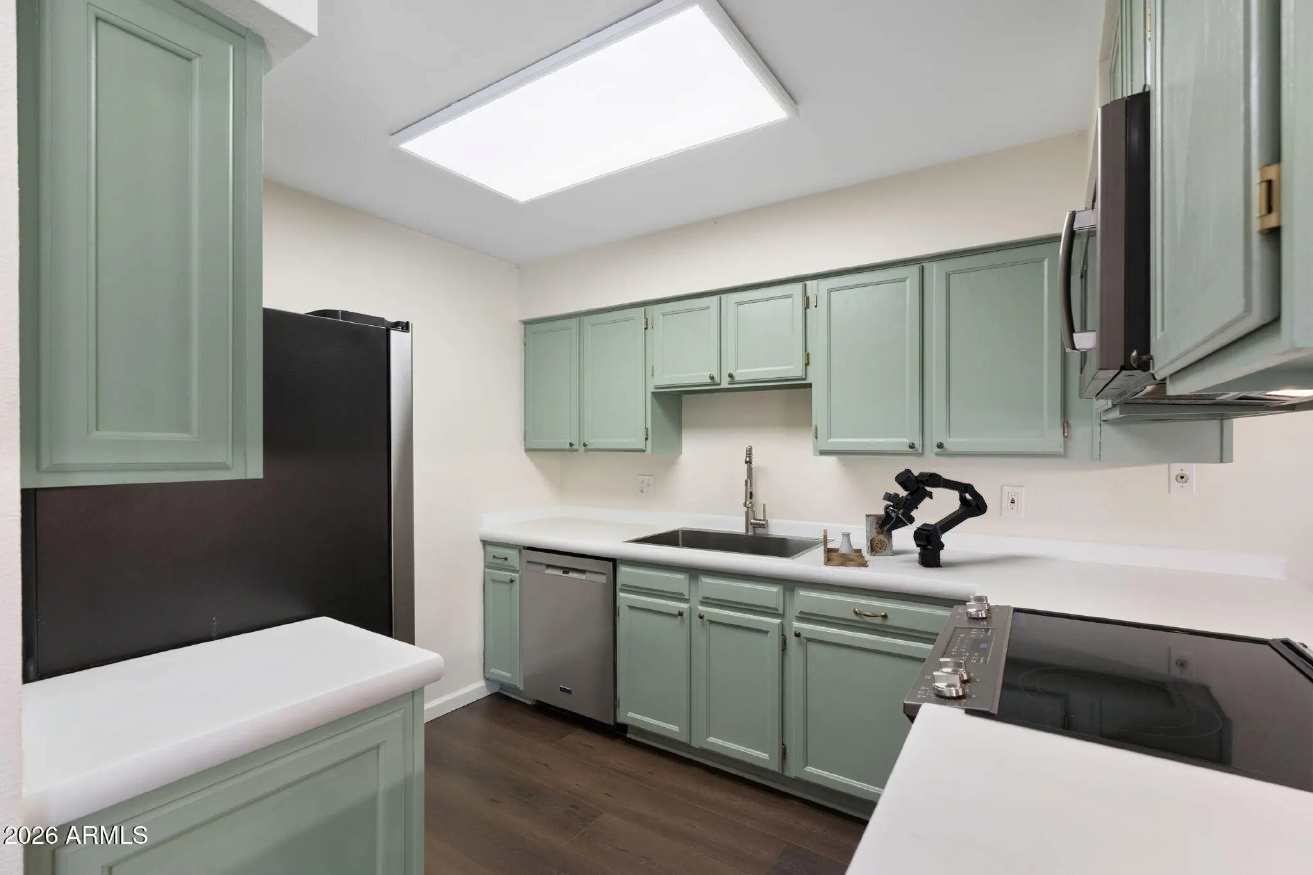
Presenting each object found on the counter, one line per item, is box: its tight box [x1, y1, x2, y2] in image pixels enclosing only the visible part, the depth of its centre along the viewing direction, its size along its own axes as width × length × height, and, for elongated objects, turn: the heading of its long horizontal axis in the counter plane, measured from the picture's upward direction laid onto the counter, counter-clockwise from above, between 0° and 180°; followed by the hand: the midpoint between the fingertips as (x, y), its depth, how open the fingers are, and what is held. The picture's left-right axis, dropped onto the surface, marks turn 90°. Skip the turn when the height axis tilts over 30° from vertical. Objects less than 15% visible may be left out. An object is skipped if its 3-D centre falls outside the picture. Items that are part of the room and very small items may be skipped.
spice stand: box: [822, 529, 867, 568], centre depth 229 cm, size 15×14×12 cm
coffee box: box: [865, 513, 894, 557], centre depth 243 cm, size 9×6×16 cm
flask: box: [838, 531, 855, 553], centre depth 229 cm, size 7×7×10 cm
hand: (882, 530), depth 220 cm, fingers open, 9 cm apart
